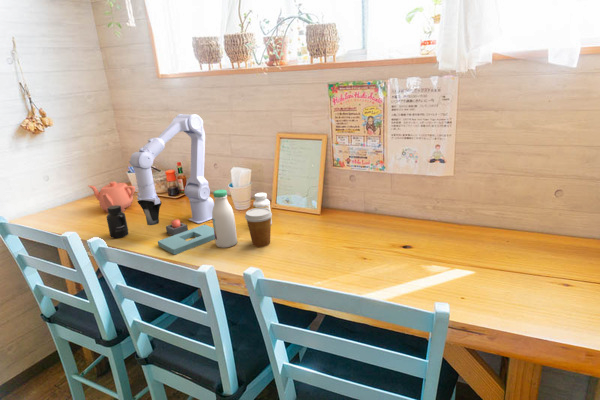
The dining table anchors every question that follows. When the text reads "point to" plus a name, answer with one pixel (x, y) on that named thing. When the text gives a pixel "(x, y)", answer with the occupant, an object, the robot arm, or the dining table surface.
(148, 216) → the cylinder
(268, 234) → the disposable coffee cup
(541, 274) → the dining table surface
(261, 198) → the supplement bottle
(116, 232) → the supplement bottle
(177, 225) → the button
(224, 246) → the milk bottle
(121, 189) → the teapot
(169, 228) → the button housing
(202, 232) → the plate
